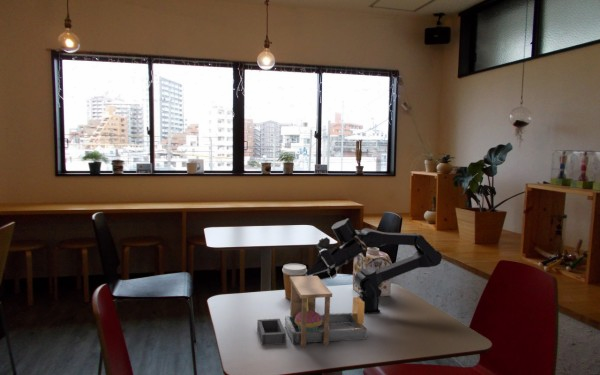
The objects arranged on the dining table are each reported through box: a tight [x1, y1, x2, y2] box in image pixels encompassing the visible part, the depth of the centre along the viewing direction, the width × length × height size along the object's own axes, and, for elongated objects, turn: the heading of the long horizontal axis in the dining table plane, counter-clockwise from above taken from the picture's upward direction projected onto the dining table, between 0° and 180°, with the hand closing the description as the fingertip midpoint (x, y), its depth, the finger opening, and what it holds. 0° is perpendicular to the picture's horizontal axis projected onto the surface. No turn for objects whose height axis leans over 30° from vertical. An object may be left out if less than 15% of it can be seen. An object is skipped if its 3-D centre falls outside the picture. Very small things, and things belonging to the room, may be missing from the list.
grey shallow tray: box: [284, 296, 368, 344], centre depth 133 cm, size 23×13×10 cm, turn 102°
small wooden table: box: [289, 275, 333, 348], centre depth 132 cm, size 9×17×16 cm, turn 12°
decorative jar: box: [352, 247, 393, 298], centre depth 172 cm, size 12×12×18 cm
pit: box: [256, 318, 287, 346], centre depth 130 cm, size 7×11×3 cm, turn 12°
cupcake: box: [295, 298, 323, 332], centre depth 132 cm, size 9×8×12 cm
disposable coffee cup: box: [281, 263, 308, 301], centre depth 164 cm, size 10×10×12 cm
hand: (308, 277), depth 148 cm, fingers open, 9 cm apart
